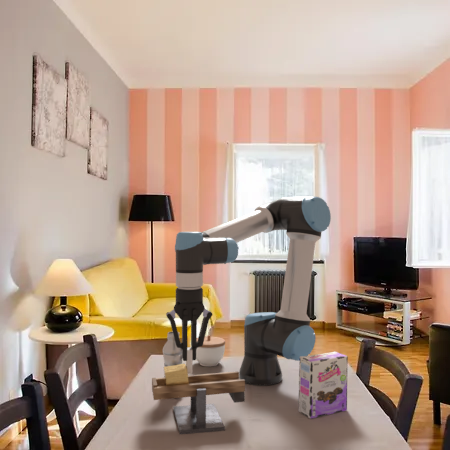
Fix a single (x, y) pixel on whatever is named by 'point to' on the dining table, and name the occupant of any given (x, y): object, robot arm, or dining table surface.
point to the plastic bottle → (171, 352)
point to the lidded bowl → (210, 351)
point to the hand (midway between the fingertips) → (189, 371)
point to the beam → (202, 386)
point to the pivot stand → (198, 416)
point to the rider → (176, 375)
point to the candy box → (322, 384)
